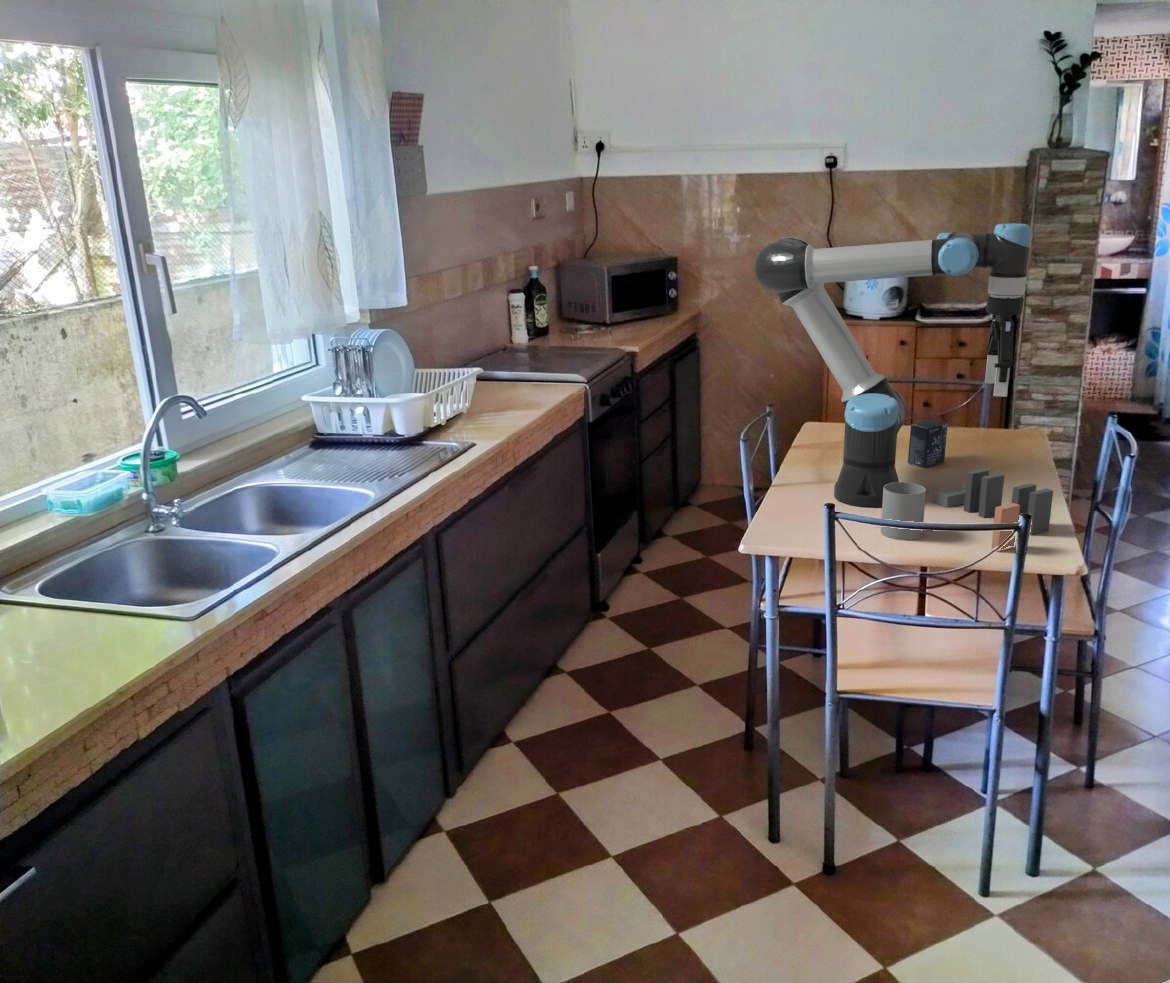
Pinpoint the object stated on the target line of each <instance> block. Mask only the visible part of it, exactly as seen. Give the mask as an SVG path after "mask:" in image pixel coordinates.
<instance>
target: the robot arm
mask: <svg viewBox="0 0 1170 983" xmlns="http://www.w3.org/2000/svg"><path fill="white" fill-rule="evenodd" d="M1031 240H1032V228H1031V226H1030V225H1028V224H1027V223H1013V222H1012V223H1011V222H1010V223H998V224H996V225H995V227H994V230H993V232H987V233H986V232H985V233H980V232H956V231H952V232H941V233H938V235H937V236H936V239H927V240H914V241H899V242H889V243H888V242H887V243H876V244H875V243H874V244H873V243H872V244H863V245H862V244H861V245H851V246H838V247H827V248H826V247H825V248H824V247H823V248H814V247H813V246H812V245H811V244H810V243H808V242H807V241H805V240H804V239H802V238H797V237H792V236H791V237H790V236H789V237H783V238H780V239H778V240H776V241H774V242H770V243H769V244H766V245H765V246H764V247H763V248H762V249H761V250H760V251H759V252H758V254H757V255H756V258H755V261H754V266H753V269H754V275H755V278H756V281H757V282H758V284H759V285H760V286H761V287H762V288H763V289H765V290H767V291H769V292H772V293H775V294H776V295H777V297H778V299H779V300H780V302H781V303H782V305H784V306H788V307H791V308H792V309H793V311H794V312H795V315H796V316H797V317H798V320H799V321H800V322H801V324H802V326H803V328H804V329H805V331H806V332H807V334H808V336H809V337H810V339H811V340H812V342H813V344H814V346H815V347H816V349H817V350H818V352H819V354H820V355H821V357H822V360H823V361H824V362H825V364H826V365H827V367H828V369H829V370H830V372H831V374H832V376H833V377H834V378H835V381H836V382H837V384H838V385H839V387H840V389H841V390H842V396H841V400H840V402H841V403H842V404H843V407H844V408H845V411H844V420H845V421H844V437H843V438H844V439H843V441H844V442H843V454H842V455H843V458H842V459H843V460H842V467H841V469H840V471H839V474H838V478H837V481H836V482H835V484H834V488H833V497H834V498H835V499H836V500H837V501H839V502H841V503H843V504H847V505H851V506H856V507H865V508H867V507H869V508H875V507H876V508H878V507H879V508H880V507H881V508H882V503H883V488H884V486H885V485H886V484H889V483H896V482H900V480H899V477H898V473H897V469H896V457H897V456H896V454H897V443H898V442H897V439H898V433H899V431H900V429H902V426H903V425H904V423H905V420H906V416H907V408H906V407H907V406H906V403H905V400H904V398H903V396H902V395H901V394H900V392H898V391H897V390H896V389H894V388H892V386H891V383H890V382H889V381H888V379H887V377H886V376H885V374H880V373H877V372H876V371H875V370H874V368H873V367H872V365H871V363H870V362H869V361H868V359H867V357H866V355H865V354H864V352H863V350H862V348H861V347H860V346H859V344H858V342H857V340H856V339H855V337H854V335H853V334H852V332H851V330H850V328H849V327H848V326H847V323H846V322H845V321H844V319H843V317H842V316H841V313H840V312H839V311H838V309H837V308H836V306H835V303H834V302H833V300H832V299H831V297H830V295H829V294H828V292H827V291H826V289H825V287H824V286H825V284H827V283H842V282H853V281H855V282H856V281H858V282H859V281H869V280H881V279H882V280H884V279H897V278H898V279H899V278H912V277H926V276H927V277H929V276H945V275H949V276H953V277H954V276H955V277H958V276H963V275H965V274H968V273H970V271H971V270H973V269H976V268H977V269H981V268H983V269H988V268H989V269H990V272H989V277H988V288H987V293H988V295H989V296H988V297H987V300H986V301H987V302H986V309H985V310H986V311H985V312H986V313H987V314H989V315H991V318H992V319H991V325H990V330H989V335H988V340H987V345H986V351H987V355H986V356H987V359H986V367H985V368H986V369H985V375H984V384H994V386H993V394H992V395H993V397H1001V398H1002V397H1008V389H1009V388H1008V387H1009V381H1010V372H1011V367H1013V366H1014V363H1013V362H1014V360H1013V358H1014V331H1015V321H1012V316H1019V315H1021V314H1022V313H1023V309H1024V301H1025V298H1024V297H1023V295H1024V294H1025V291H1026V286H1027V285H1029V280H1028V279H1027V274H1028V273H1027V272H1028V269H1029V268H1028V266H1029V260H1030V251H1031Z"/></svg>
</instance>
